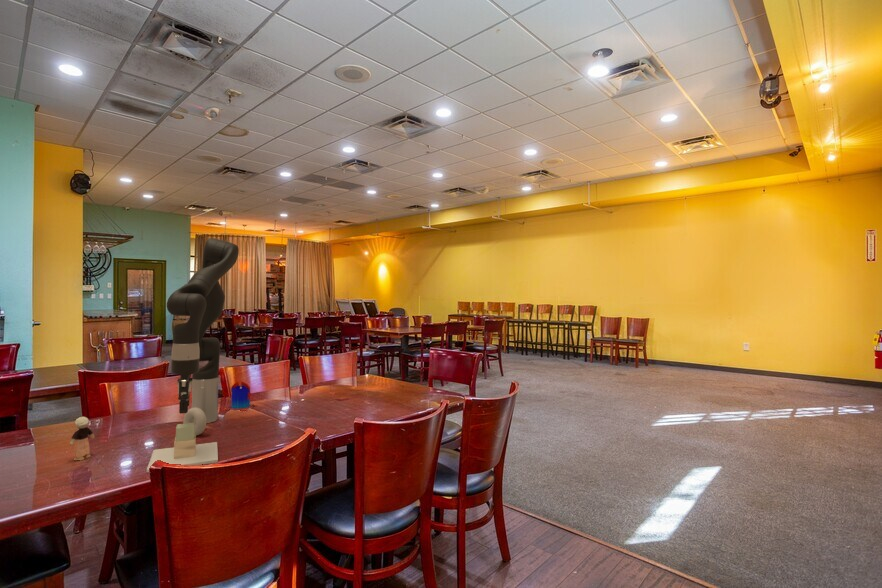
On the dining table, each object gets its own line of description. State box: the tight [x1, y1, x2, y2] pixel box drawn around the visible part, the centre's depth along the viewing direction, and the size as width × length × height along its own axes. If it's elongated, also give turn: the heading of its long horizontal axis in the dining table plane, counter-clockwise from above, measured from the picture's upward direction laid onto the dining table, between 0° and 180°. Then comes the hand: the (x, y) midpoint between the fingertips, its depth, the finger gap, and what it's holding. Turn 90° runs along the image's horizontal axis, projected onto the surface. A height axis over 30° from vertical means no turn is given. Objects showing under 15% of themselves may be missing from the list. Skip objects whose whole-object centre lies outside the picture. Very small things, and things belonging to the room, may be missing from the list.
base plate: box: [146, 441, 219, 473], centre depth 136 cm, size 18×18×1 cm
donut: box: [182, 407, 207, 437], centre depth 158 cm, size 10×4×10 cm, turn 66°
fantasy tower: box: [222, 381, 258, 412], centre depth 197 cm, size 12×12×12 cm
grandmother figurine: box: [69, 416, 96, 461], centre depth 134 cm, size 8×4×13 cm, turn 5°
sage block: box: [175, 423, 196, 442], centre depth 137 cm, size 5×5×4 cm
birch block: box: [173, 435, 197, 459], centre depth 136 cm, size 6×6×5 cm
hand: (184, 409), depth 136 cm, fingers open, 8 cm apart
